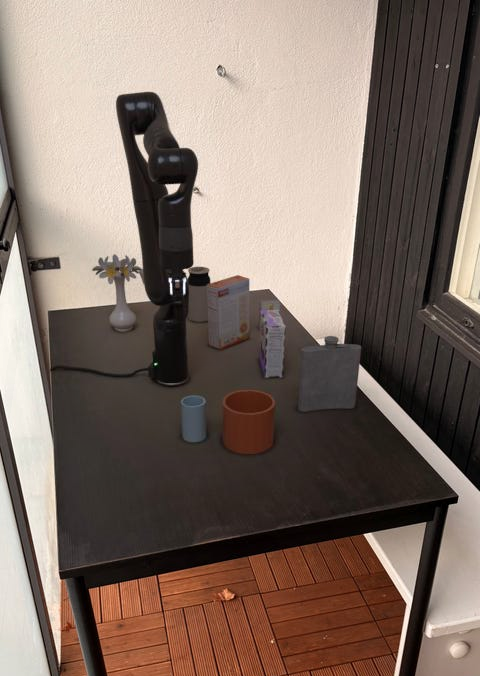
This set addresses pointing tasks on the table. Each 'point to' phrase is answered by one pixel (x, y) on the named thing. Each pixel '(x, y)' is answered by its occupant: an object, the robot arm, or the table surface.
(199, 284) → the travel mug
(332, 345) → the hip flask
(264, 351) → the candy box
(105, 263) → the flower vase
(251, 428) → the flower pot
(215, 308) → the cracker box
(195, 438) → the enamel cup
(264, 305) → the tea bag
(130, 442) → the table surface
